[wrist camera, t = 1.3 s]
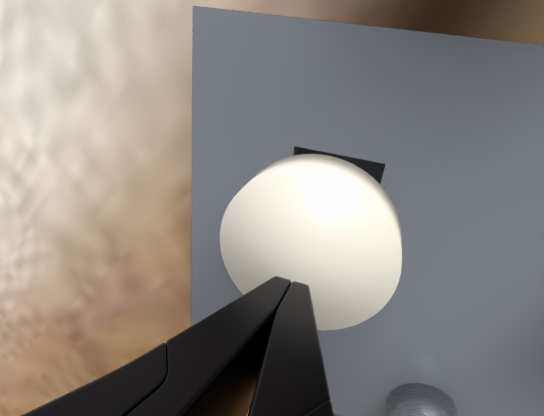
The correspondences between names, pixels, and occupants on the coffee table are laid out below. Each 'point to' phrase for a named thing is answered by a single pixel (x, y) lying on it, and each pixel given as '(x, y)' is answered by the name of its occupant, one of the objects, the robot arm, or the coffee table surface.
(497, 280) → the console block
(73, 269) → the coffee table surface
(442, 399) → the potentiometer
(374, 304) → the knob
